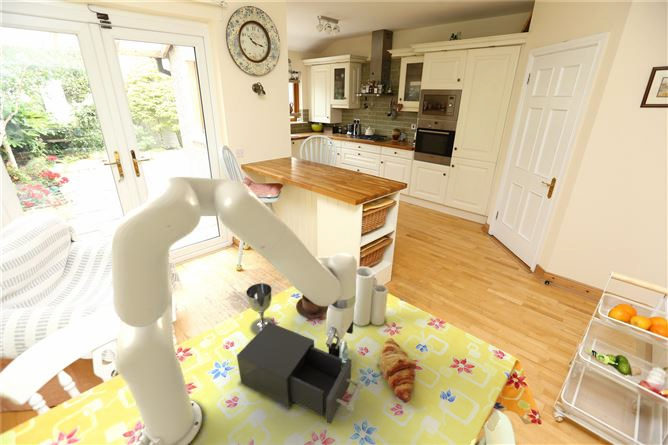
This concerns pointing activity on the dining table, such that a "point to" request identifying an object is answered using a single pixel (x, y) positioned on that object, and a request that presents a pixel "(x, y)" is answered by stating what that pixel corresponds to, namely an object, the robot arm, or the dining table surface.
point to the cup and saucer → (310, 308)
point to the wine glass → (259, 303)
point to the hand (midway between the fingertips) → (341, 343)
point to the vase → (369, 298)
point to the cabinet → (272, 361)
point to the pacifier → (344, 351)
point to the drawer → (322, 383)
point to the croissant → (397, 369)
